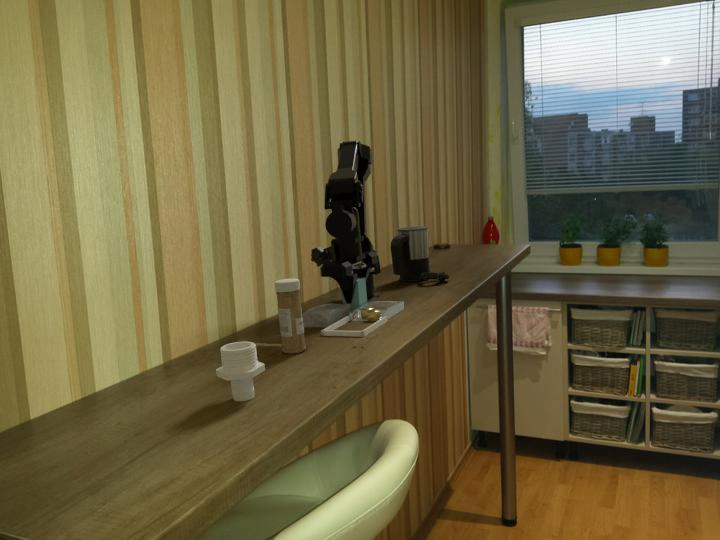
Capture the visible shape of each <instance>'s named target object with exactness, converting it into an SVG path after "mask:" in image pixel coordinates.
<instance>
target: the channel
mask: <svg viewBox="0 0 720 540" xmlns="http://www.w3.org/2000/svg"><path fill="white" fill-rule="evenodd" d="M364 307H374V309H379V310H381V313H380V315H381V318H383V317H387V320H388V319H390V318H392V317H393V316H395V315H397V314H398V313H399V312H401V311H403V310H405V301H404V300H384V301H383V300H370V301H367V303H366V304H365V305H363V306H361V307H359V308H357V309H355V310H354V311H352V312H350V313H349V317H350V321H351V322H370V321H369V320H367V318H362V317H361V308H364ZM350 321H349V322H350ZM377 321H378V320H376V321H375V322H377Z"/></svg>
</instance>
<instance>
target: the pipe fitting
mask: <svg viewBox="0 0 720 540" xmlns="http://www.w3.org/2000/svg"><path fill="white" fill-rule="evenodd" d="M219 351H220V356H221V357H220V359H221V365H222V366H220V367H218V368H216V369H215V372H216V377H218V378H220V379H222V380H224V381H230V386H231V394H232V398H233V400H234V401H235V402H247V401H249V400H252V399H254V398H255V387H254V377H256V376H258V375H259V374H261V373H263V372H265V371H266V366H265V363H263V362H261V361H259V360H258V356H257V355H258V353H257V352H258V351H257V345H256V344H255V342H252V341H237V342H235V341H233V342H231V343H227V344H224V345H222V346H221V347H220V349H219Z"/></svg>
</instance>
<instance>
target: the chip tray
mask: <svg viewBox="0 0 720 540" xmlns="http://www.w3.org/2000/svg"><path fill="white" fill-rule="evenodd" d="M349 322H350V317H349V316H346V317H345V318H343V319H341V320H339V321H338V322H336V323H334V324H332V325H330V326H329V327H324V329H323V328H322V329H321V330H320V334H321V336H325V337H327V336H328V337H360V338H363V337H366V336H367V335H369V334H370V333H372V332H373V331H375V330H376V329H378V328H380V327H381V326H382V325H385V323H387V322H388V319H387V317H383V318H381V319H380V320H378V321H374V323H371V324H370V325H369V326H367V327H366V328H364V329H362V330H339V329H338V328H339V327H341V326H344V325H345V324H346V323H349ZM336 329H338V330H336Z"/></svg>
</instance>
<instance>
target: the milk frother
mask: <svg viewBox="0 0 720 540" xmlns="http://www.w3.org/2000/svg"><path fill="white" fill-rule="evenodd" d="M428 228H429V227H428V226H409V227H400V228H396V229H395V230H396V231H397V235H395V236H393V238H392V240H391V243H390V254H391V261H392V271H393V274H394V275H395V276H399V281H402V282H413V281H414V282H421V281H426V280H437V281H438V282H439V281H444V282H445V281H446V280H448V279H450V275H448V274H446V273H445V272H444V271H443V272H431V267H430V266H431V265H430V254H429V240H428V237H429V236H428Z"/></svg>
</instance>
